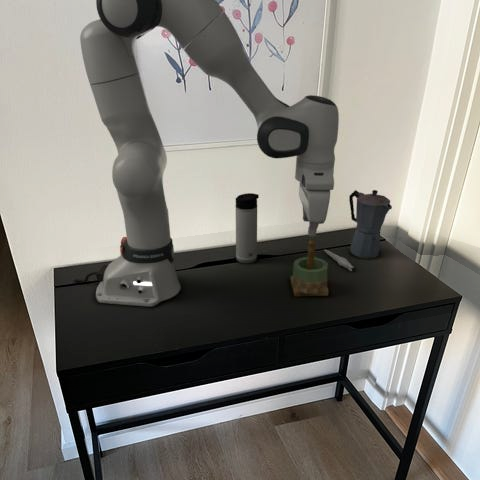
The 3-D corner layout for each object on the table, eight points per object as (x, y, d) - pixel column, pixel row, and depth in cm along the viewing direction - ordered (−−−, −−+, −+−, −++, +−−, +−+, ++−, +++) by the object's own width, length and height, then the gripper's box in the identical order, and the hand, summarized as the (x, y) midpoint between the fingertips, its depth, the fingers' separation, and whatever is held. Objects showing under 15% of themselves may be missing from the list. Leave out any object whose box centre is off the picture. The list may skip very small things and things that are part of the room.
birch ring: (294, 294, 134) (294, 283, 133) (291, 278, 142) (291, 268, 140) (329, 293, 134) (330, 283, 133) (324, 278, 142) (325, 268, 140)
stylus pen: (356, 270, 149) (357, 264, 148) (348, 272, 148) (349, 266, 147) (327, 251, 160) (328, 245, 159) (320, 252, 159) (320, 247, 158)
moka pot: (374, 265, 152) (384, 199, 141) (333, 249, 161) (339, 186, 151) (393, 255, 157) (403, 191, 147) (352, 241, 167) (359, 179, 156)
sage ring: (294, 282, 134) (295, 271, 132) (291, 267, 141) (291, 257, 139) (330, 281, 134) (331, 271, 132) (324, 266, 141) (325, 256, 140)
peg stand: (294, 296, 136) (297, 248, 129) (290, 280, 144) (292, 234, 137) (328, 295, 137) (332, 247, 129) (322, 279, 144) (326, 233, 137)
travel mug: (256, 264, 153) (256, 198, 142) (234, 262, 154) (233, 197, 143) (259, 255, 158) (260, 191, 147) (238, 254, 159) (237, 190, 149)
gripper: (295, 159, 129) (291, 212, 136) (306, 184, 111) (301, 244, 119) (320, 159, 129) (315, 212, 136) (335, 185, 112) (328, 244, 119)
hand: (309, 227), depth 127 cm, fingers open, 8 cm apart
